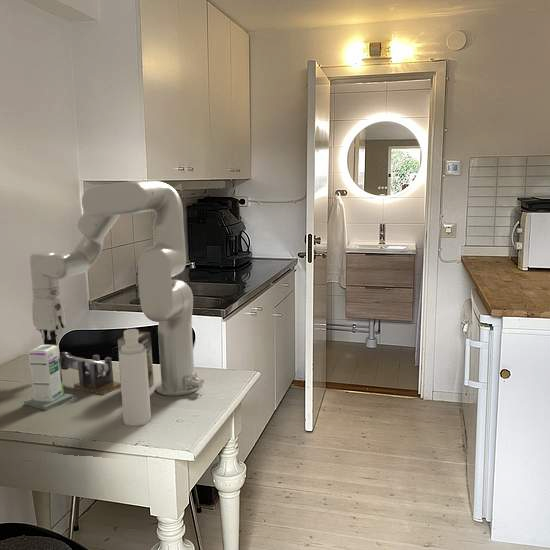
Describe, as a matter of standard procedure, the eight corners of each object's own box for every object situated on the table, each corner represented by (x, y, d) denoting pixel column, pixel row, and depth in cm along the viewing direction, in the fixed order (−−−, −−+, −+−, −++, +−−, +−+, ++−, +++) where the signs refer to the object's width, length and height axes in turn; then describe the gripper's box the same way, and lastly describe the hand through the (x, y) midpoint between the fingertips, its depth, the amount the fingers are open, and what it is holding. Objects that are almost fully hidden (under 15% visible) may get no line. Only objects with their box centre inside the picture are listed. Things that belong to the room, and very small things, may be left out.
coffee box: (141, 395, 159) (137, 340, 156) (120, 394, 160) (116, 339, 158) (154, 384, 168) (151, 331, 165) (134, 383, 169) (130, 330, 166)
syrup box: (52, 402, 154) (47, 351, 151) (33, 401, 155) (27, 350, 152) (64, 394, 159) (59, 344, 156) (45, 393, 160) (40, 343, 158)
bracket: (122, 386, 167) (119, 358, 165) (103, 394, 161) (101, 366, 159) (93, 379, 173) (91, 353, 171) (74, 387, 167) (71, 360, 165)
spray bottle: (142, 427, 139) (135, 328, 135) (118, 424, 141) (111, 327, 137) (155, 416, 145) (149, 321, 141) (132, 413, 147) (125, 320, 143)
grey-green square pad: (73, 398, 159) (73, 395, 158) (46, 410, 151) (45, 406, 151) (51, 393, 163) (51, 389, 163) (24, 404, 155) (24, 400, 155)
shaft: (111, 374, 167) (109, 357, 166) (97, 380, 163) (96, 363, 162) (70, 366, 176) (68, 350, 175) (56, 371, 171) (54, 354, 170)
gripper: (73, 292, 171) (77, 351, 174) (40, 288, 179) (45, 344, 182) (52, 297, 165) (57, 358, 168) (19, 292, 172) (24, 350, 175)
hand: (50, 350), depth 175 cm, fingers closed
